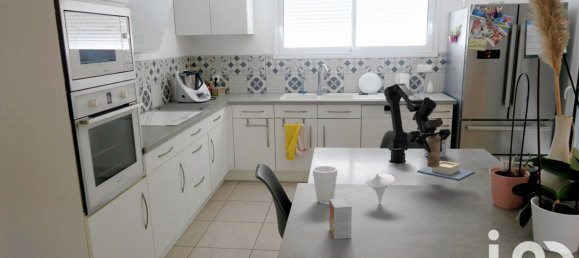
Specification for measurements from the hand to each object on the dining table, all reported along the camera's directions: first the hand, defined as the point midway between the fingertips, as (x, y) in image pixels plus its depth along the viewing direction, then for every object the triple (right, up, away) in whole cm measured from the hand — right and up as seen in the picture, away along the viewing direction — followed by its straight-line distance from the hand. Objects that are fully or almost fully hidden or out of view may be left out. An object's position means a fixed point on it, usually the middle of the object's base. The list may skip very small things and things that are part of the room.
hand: (435, 152), depth 183 cm
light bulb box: (+16, -5, +47) cm, 50 cm away
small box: (-47, -24, -47) cm, 71 cm away
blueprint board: (+10, -10, +16) cm, 22 cm away
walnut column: (0, -6, +3) cm, 7 cm away
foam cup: (-49, -18, -18) cm, 55 cm away
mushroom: (-29, -19, -22) cm, 40 cm away
